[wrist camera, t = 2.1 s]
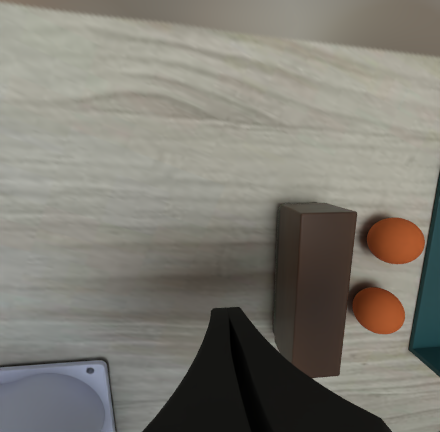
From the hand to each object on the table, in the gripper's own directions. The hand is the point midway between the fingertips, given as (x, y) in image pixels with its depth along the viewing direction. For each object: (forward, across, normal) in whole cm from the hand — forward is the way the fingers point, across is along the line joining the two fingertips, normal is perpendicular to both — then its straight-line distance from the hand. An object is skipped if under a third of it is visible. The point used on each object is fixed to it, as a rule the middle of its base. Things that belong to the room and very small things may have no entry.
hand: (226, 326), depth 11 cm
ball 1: (+4, -12, -2) cm, 12 cm away
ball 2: (+4, -11, +2) cm, 12 cm away
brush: (+6, -6, 0) cm, 8 cm away
